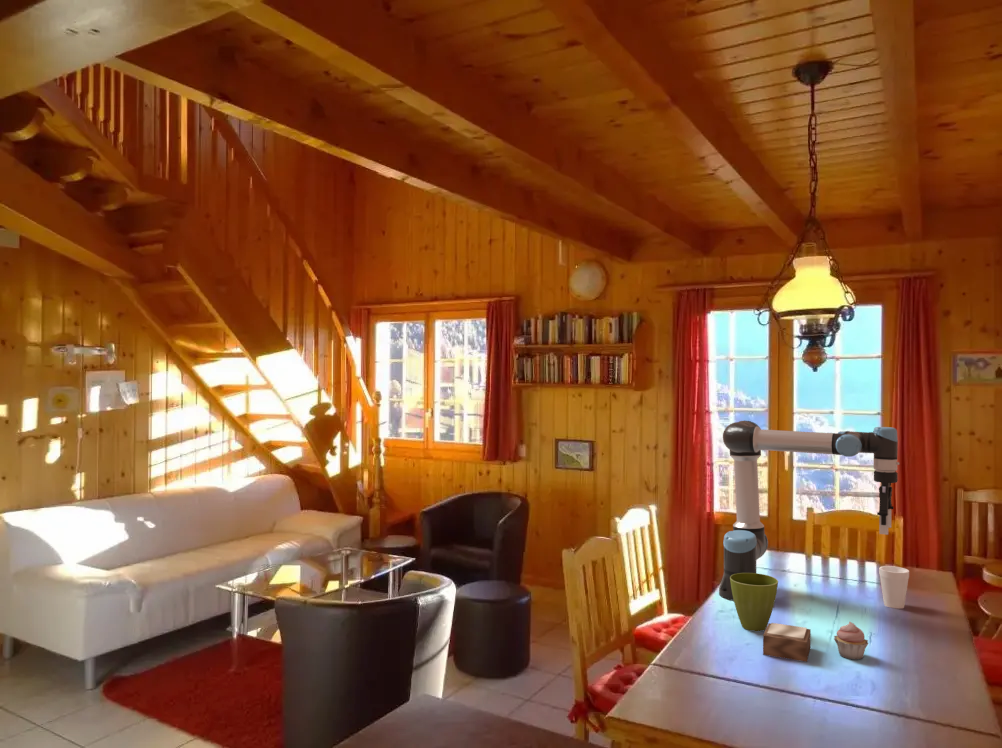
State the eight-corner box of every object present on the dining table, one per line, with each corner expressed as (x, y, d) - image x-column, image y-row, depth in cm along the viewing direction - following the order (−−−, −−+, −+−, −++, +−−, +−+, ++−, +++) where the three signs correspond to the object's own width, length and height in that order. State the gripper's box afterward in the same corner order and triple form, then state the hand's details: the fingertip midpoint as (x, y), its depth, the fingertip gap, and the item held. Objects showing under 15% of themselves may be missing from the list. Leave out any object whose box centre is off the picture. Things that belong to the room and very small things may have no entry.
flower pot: (782, 637, 231) (781, 586, 231) (732, 634, 234) (732, 583, 234) (774, 621, 245) (774, 574, 245) (727, 618, 248) (727, 571, 248)
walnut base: (763, 654, 216) (763, 633, 216) (768, 641, 227) (768, 621, 227) (806, 661, 211) (806, 640, 211) (810, 648, 221) (810, 627, 222)
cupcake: (850, 648, 222) (849, 615, 222) (875, 659, 213) (875, 624, 213) (826, 652, 218) (826, 618, 218) (851, 663, 209) (851, 628, 210)
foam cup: (906, 611, 256) (906, 574, 256) (877, 606, 261) (877, 570, 261) (910, 604, 263) (910, 568, 263) (882, 600, 269) (882, 564, 269)
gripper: (894, 475, 248) (894, 538, 247) (899, 467, 269) (899, 525, 269) (870, 473, 251) (870, 535, 251) (877, 466, 273) (876, 523, 273)
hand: (885, 530), depth 260 cm, fingers open, 13 cm apart
